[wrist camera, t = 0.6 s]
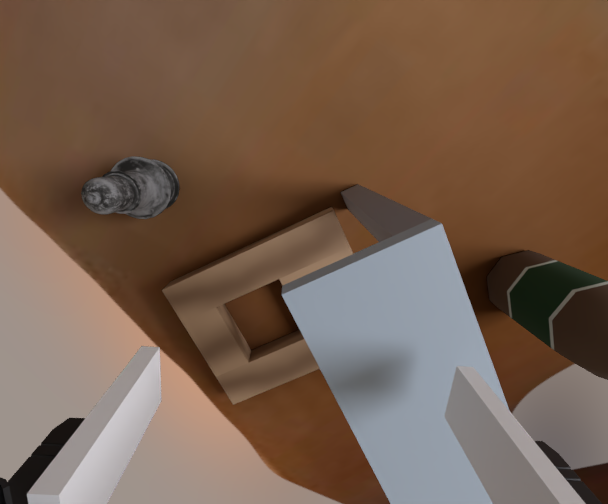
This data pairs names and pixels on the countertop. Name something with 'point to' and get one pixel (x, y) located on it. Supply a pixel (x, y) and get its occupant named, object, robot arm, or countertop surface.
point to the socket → (241, 280)
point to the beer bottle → (555, 306)
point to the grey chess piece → (133, 189)
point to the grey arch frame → (397, 349)
